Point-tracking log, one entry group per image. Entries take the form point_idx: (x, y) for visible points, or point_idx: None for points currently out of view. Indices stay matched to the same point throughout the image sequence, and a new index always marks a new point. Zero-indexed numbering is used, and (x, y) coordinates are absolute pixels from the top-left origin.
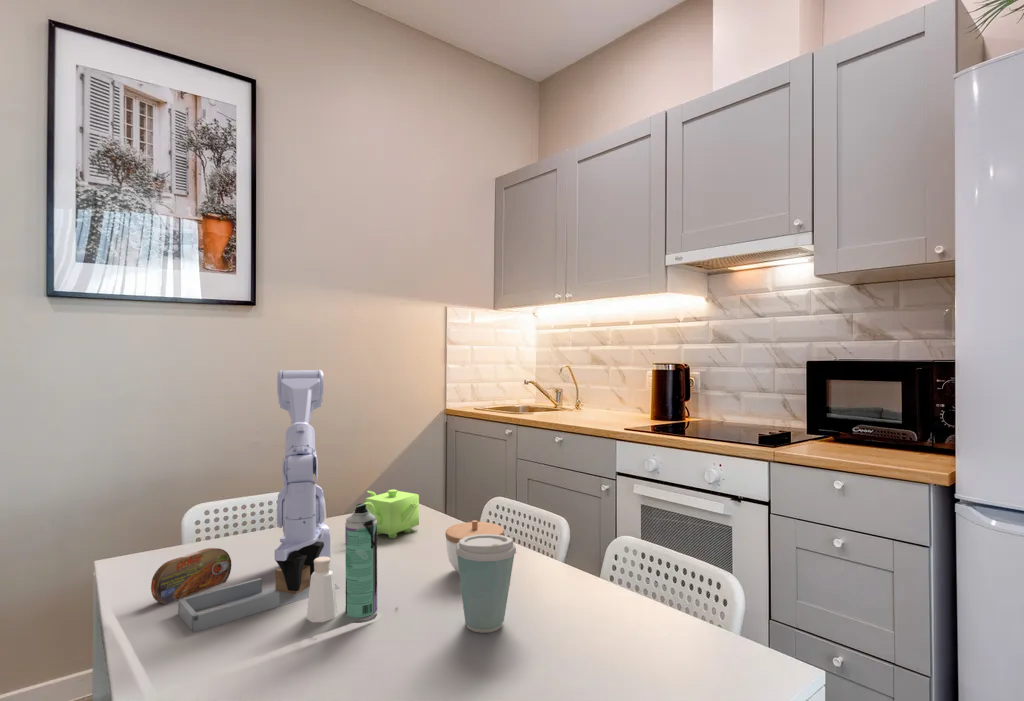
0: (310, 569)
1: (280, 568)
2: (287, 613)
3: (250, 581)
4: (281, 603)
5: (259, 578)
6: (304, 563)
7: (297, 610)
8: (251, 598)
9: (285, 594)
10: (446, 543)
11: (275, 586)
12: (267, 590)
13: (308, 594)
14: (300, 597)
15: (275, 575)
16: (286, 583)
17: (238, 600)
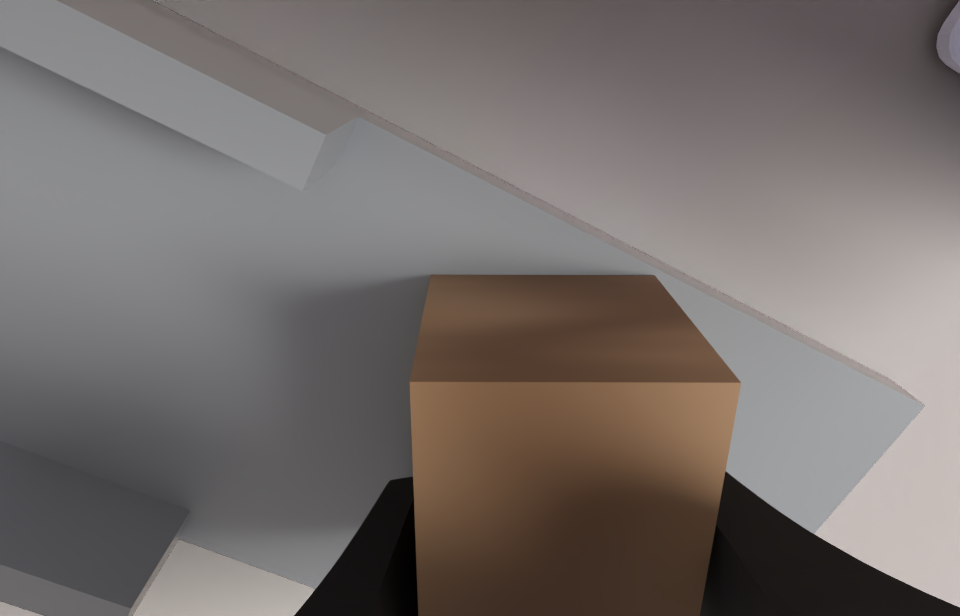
0: (703, 613)
1: (490, 408)
2: (209, 571)
3: (160, 93)
4: (225, 521)
5: (309, 134)
6: (730, 606)
7: (281, 598)
8: (160, 185)
9: (387, 432)
10: None
11: (428, 289)
12: (397, 191)
13: None
14: None
15: (417, 345)
16: (365, 522)
17: (48, 79)
